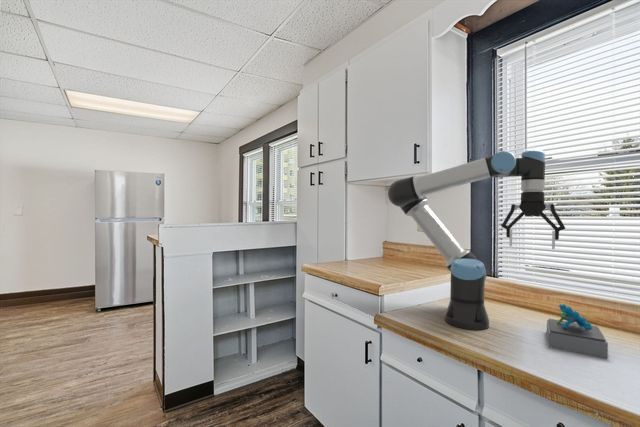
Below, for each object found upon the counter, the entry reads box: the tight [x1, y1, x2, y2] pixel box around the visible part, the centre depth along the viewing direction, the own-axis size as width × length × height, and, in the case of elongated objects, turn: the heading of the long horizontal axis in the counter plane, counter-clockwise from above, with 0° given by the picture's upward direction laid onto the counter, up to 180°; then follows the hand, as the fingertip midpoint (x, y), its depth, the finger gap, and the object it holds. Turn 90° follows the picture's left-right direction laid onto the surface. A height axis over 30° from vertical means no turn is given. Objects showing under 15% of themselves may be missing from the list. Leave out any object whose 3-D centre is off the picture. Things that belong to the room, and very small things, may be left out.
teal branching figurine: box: [557, 304, 593, 330], centre depth 104 cm, size 11×6×10 cm
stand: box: [546, 318, 609, 359], centre depth 104 cm, size 14×15×5 cm
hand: (531, 247), depth 124 cm, fingers open, 13 cm apart
